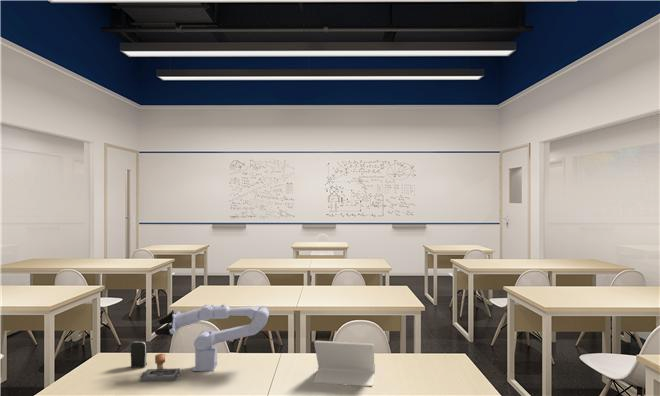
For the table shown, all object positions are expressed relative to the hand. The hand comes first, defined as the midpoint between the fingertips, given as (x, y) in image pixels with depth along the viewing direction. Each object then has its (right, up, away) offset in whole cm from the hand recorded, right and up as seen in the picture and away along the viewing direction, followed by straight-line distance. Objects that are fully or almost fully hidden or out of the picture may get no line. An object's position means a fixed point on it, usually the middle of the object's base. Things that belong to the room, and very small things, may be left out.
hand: (157, 327), depth 188 cm
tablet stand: (+85, -19, -8) cm, 87 cm away
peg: (+2, -19, -1) cm, 19 cm away
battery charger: (-10, -19, +4) cm, 22 cm away
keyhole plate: (+5, -19, -9) cm, 21 cm away
